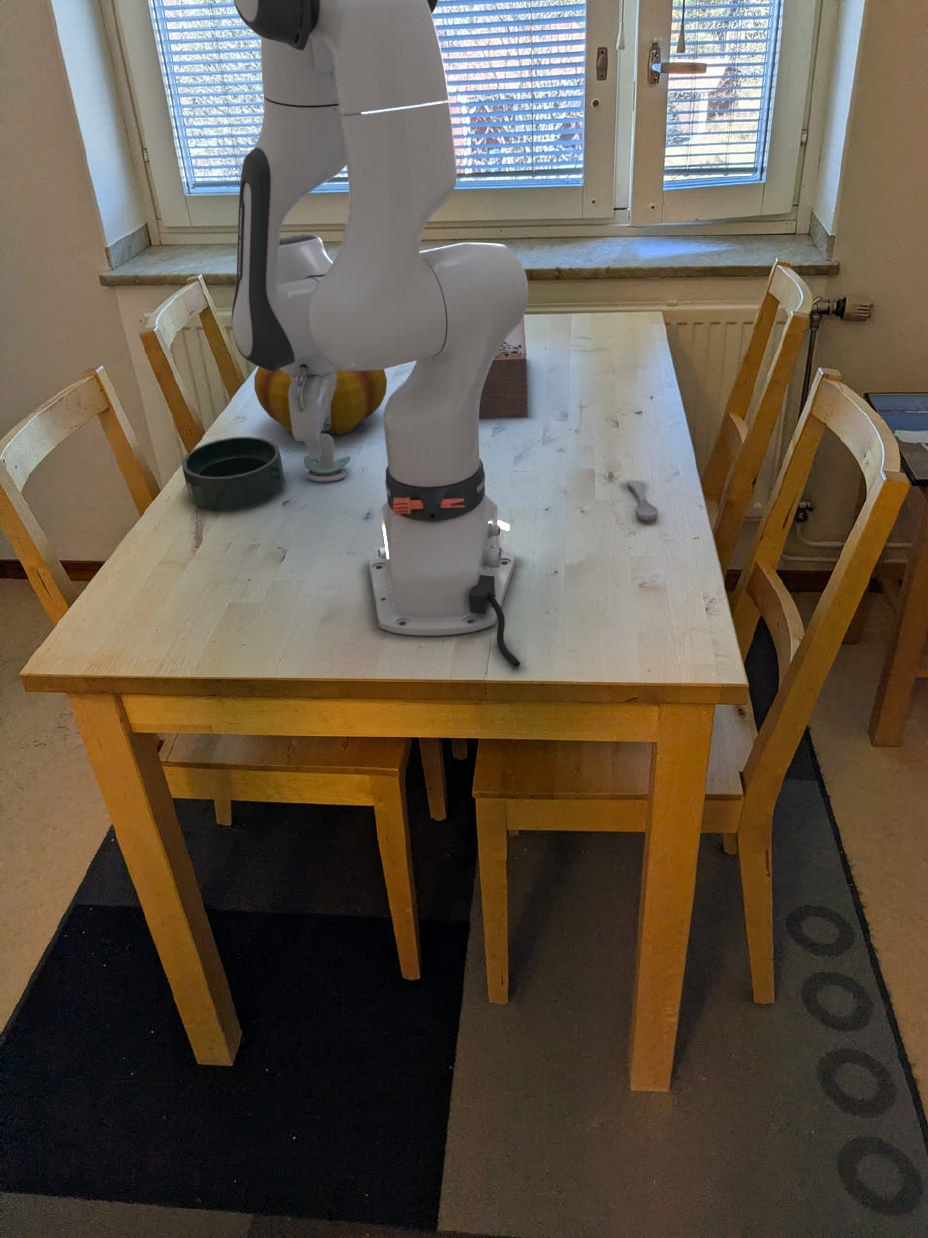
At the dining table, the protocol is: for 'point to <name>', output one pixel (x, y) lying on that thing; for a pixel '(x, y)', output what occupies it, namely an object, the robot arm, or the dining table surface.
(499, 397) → the tissue box cover
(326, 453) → the pacifier
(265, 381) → the decorative pumpkin
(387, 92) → the robot arm
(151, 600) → the dining table surface
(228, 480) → the bowl
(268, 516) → the dining table surface
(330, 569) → the dining table surface
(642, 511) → the spoon
